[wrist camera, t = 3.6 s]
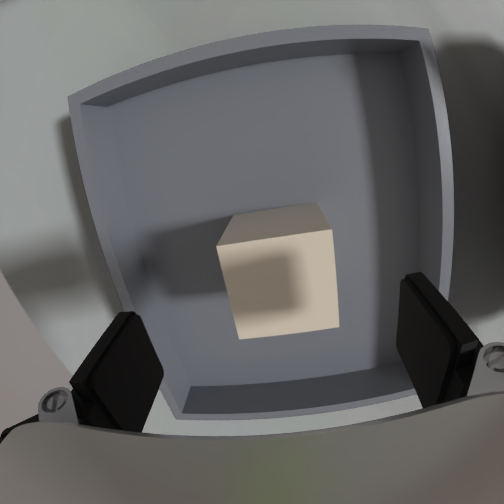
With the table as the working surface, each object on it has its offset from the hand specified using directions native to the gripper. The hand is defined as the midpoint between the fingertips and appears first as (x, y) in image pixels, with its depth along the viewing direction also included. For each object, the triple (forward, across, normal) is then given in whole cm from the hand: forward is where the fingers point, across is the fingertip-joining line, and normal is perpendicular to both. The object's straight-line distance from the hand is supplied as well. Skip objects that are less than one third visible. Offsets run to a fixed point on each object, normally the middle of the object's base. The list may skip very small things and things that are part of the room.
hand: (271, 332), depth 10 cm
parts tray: (+10, 0, +1) cm, 10 cm away
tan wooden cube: (+9, 0, 0) cm, 9 cm away
